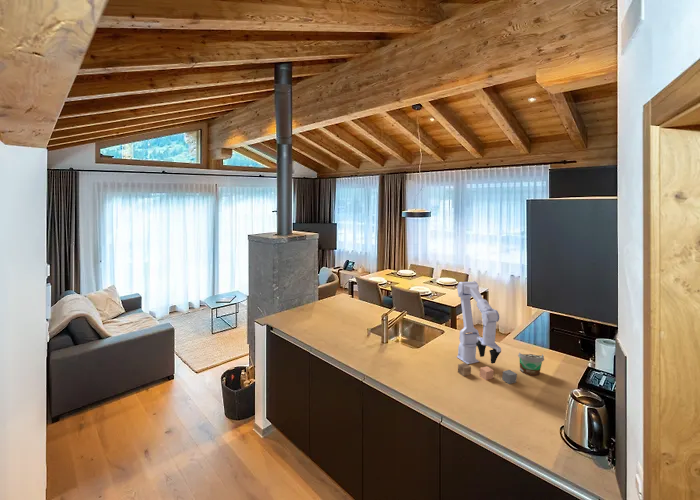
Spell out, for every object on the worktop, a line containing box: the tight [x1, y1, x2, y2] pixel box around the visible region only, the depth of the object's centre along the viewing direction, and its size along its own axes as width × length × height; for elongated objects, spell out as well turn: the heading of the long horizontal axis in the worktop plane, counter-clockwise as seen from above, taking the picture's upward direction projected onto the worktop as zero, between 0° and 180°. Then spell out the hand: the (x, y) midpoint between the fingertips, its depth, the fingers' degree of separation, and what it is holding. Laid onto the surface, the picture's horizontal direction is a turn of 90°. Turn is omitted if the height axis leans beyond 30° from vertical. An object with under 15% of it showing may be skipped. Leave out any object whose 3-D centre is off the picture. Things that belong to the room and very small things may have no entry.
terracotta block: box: [479, 366, 495, 381], centre depth 178 cm, size 4×4×4 cm
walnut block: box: [457, 362, 472, 377], centre depth 181 cm, size 4×4×4 cm
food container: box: [517, 352, 545, 377], centre depth 180 cm, size 12×6×10 cm, turn 81°
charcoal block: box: [501, 369, 518, 385], centre depth 174 cm, size 4×4×4 cm
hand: (487, 359), depth 176 cm, fingers open, 7 cm apart
